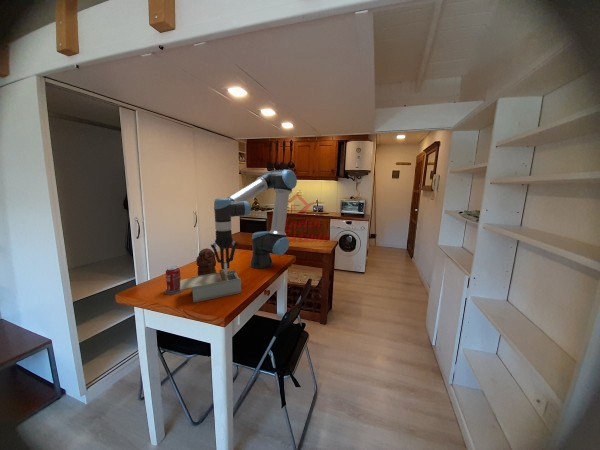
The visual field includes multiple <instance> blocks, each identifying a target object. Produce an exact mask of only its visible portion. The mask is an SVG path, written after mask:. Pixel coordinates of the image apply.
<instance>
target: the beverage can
mask: <svg viewBox="0 0 600 450" xmlns="http://www.w3.org/2000/svg"><path fill="white" fill-rule="evenodd" d="M165 280H166V281H165V282H166V289H167V290H168V291H170V292H176V291H178V290H180V280H182V278H181V269H180V267H179V266H177V265H172V266H168V267H167V268H166V270H165Z"/></svg>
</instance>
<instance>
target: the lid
mask: <svg viewBox="0 0 600 450" xmlns="http://www.w3.org/2000/svg"><path fill="white" fill-rule="evenodd" d="M219 273H220V274H214V275H208V276H202V277H196V278H191V277H189V278H183V279H181V280H180V291H182V292H184V291H188V290H192V287H194V286H200V285H205V284H211V283H216V282H222V281H228V280H229V279H228V277H227V276H226V275H225V273H224V269H222V268H221V269H219ZM183 290H184V291H183Z"/></svg>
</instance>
